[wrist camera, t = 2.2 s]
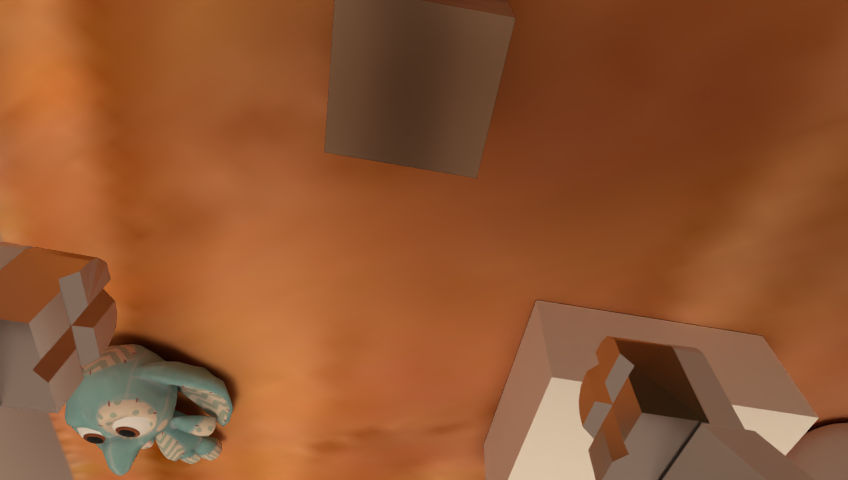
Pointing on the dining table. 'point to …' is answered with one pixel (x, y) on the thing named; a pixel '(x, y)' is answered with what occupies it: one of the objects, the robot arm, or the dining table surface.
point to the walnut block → (416, 80)
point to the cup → (823, 452)
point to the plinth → (576, 354)
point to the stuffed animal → (146, 407)
